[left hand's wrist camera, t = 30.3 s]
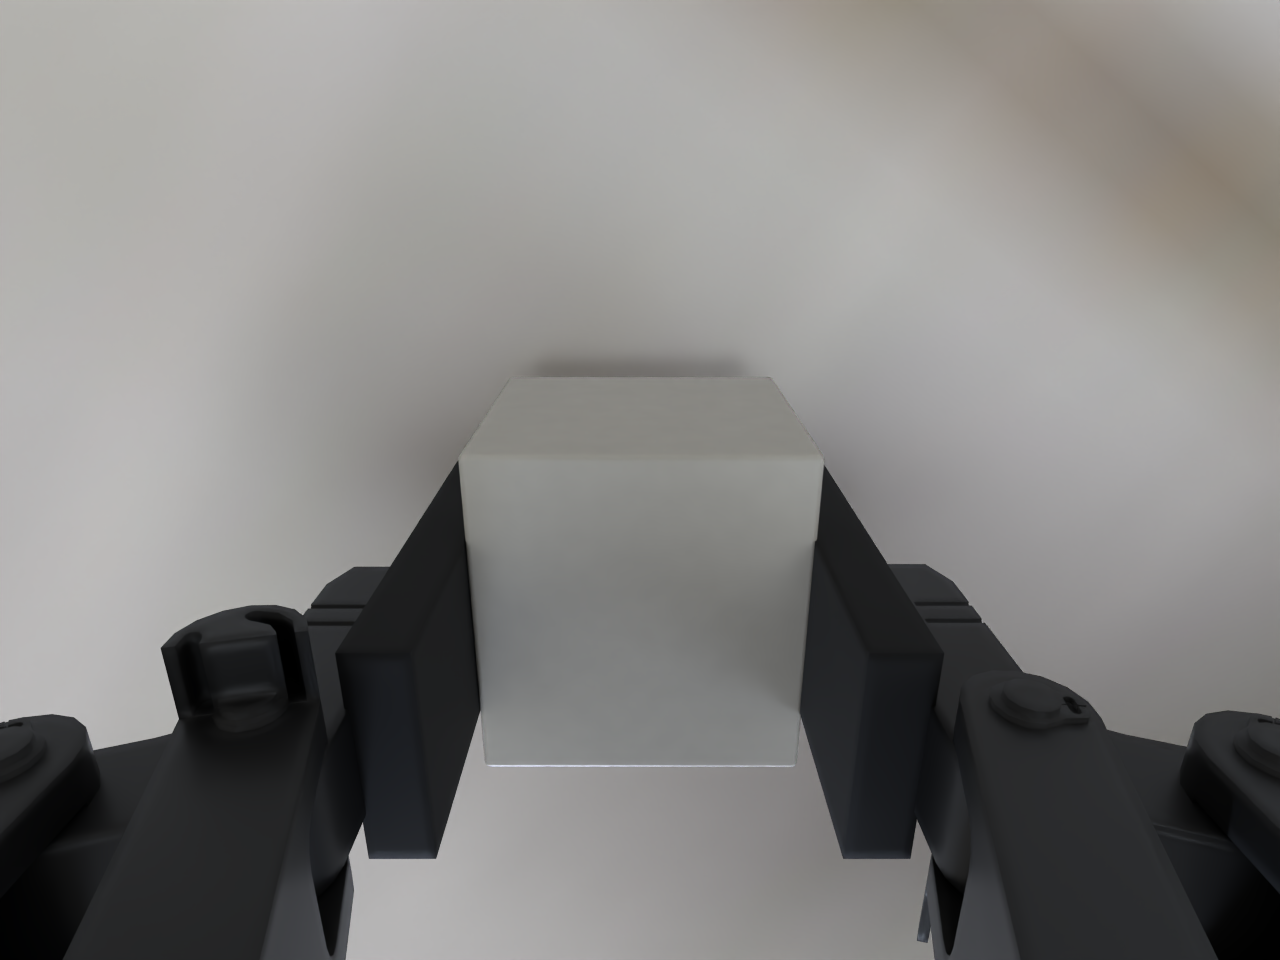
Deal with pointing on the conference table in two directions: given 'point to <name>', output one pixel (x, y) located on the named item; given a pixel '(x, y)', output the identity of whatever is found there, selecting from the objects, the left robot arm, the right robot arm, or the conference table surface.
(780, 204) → the conference table surface
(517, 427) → the block
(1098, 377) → the conference table surface
